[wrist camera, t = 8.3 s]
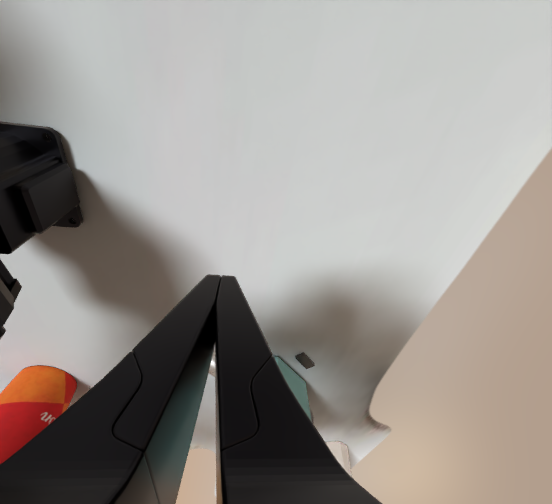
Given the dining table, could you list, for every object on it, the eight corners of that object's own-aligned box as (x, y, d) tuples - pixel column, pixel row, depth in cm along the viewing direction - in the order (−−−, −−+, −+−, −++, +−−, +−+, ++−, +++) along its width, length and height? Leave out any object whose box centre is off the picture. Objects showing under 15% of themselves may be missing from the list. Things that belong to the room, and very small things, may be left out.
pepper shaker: (343, 437, 42) (368, 542, 32) (349, 452, 44) (374, 552, 35) (308, 444, 42) (322, 550, 33) (316, 458, 45) (331, 558, 36)
